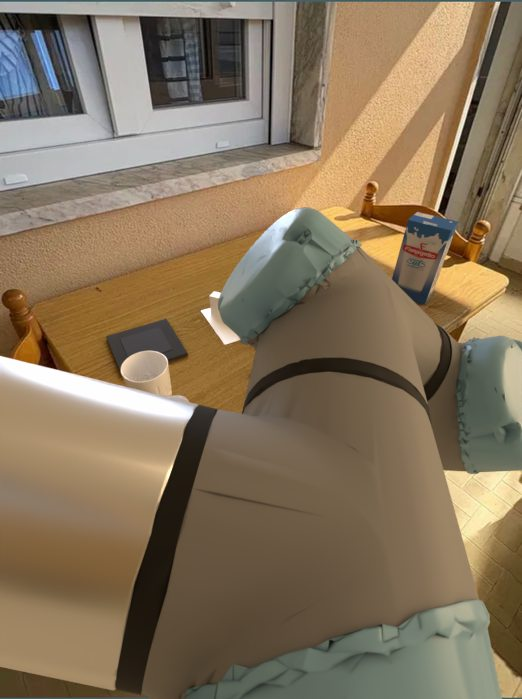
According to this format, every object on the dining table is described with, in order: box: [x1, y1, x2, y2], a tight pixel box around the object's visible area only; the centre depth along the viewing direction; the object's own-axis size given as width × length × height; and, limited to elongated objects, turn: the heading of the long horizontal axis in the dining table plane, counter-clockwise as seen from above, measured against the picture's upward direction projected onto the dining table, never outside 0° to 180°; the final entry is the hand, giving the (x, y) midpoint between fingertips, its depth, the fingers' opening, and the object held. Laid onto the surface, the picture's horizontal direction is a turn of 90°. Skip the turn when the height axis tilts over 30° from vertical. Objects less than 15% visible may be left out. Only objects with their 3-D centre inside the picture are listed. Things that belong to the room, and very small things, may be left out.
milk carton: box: [391, 211, 459, 306], centre depth 95 cm, size 10×6×20 cm, turn 54°
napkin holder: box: [200, 290, 241, 346], centre depth 90 cm, size 15×11×6 cm
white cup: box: [120, 351, 173, 397], centre depth 68 cm, size 8×8×10 cm
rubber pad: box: [105, 318, 189, 374], centre depth 83 cm, size 14×14×1 cm
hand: (219, 432), depth 50 cm, fingers open, 13 cm apart
